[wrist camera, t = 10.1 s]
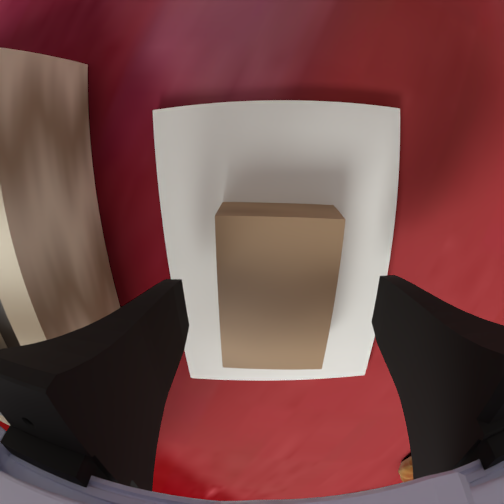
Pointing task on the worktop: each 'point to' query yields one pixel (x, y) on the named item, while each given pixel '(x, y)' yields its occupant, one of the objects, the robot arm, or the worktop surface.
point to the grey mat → (279, 191)
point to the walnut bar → (276, 282)
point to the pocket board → (48, 203)
